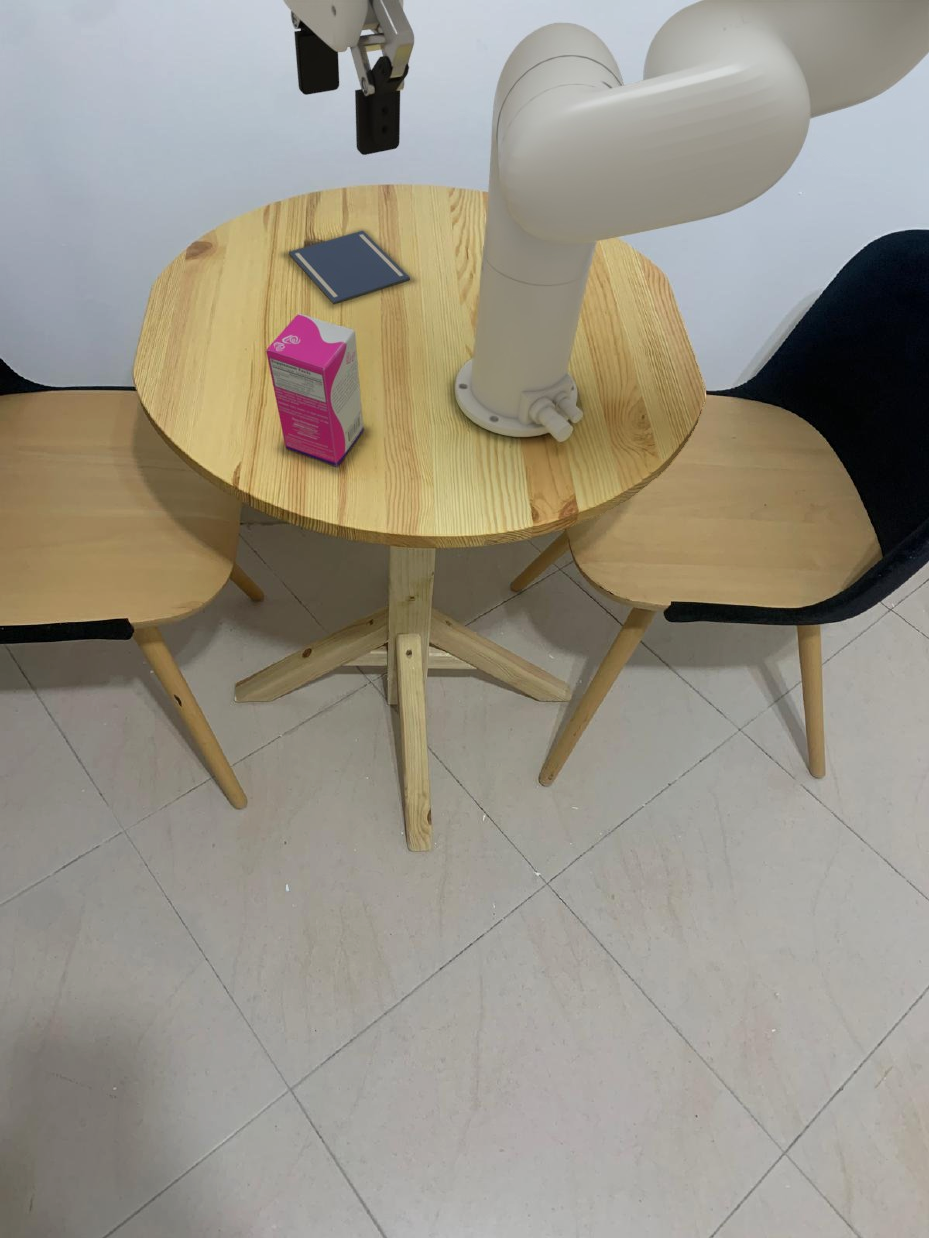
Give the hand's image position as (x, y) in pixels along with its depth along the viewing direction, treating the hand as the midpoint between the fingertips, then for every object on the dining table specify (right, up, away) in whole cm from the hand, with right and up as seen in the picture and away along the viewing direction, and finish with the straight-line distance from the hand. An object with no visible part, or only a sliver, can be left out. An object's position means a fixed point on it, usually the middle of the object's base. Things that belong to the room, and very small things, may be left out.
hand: (347, 119), depth 58 cm
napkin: (-5, +4, +32) cm, 33 cm away
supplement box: (-5, -20, +17) cm, 27 cm away
